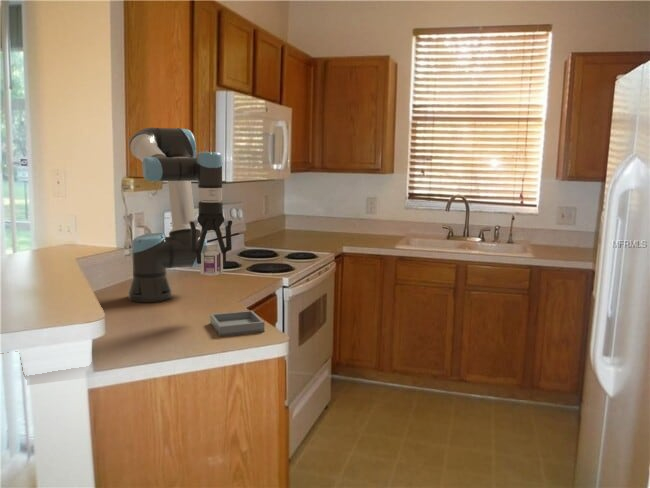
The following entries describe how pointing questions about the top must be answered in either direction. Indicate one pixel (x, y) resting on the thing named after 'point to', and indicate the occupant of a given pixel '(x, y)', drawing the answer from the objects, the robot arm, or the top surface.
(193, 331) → the top surface
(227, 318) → the bin
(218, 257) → the pill bottle
